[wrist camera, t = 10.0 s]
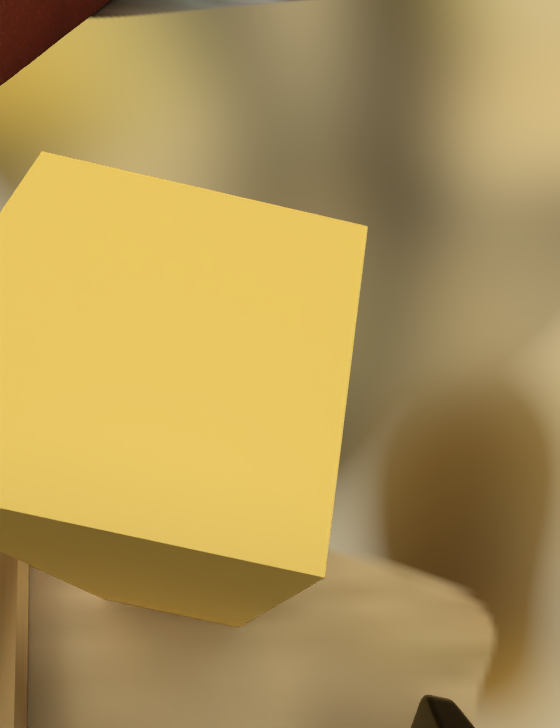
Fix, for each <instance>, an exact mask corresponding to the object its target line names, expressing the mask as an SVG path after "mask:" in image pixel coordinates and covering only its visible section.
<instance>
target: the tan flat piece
mask: <svg viewBox="0 0 560 728" xmlns="http://www.w3.org/2000/svg"><path fill="white" fill-rule="evenodd" d="M28 609H29V565H28V564H26V563H24V562H22V561H20V560H18V559H15V558H13V557H11V556H9V555H7V554H5V553H2V552H0V728H27V686H28Z"/></svg>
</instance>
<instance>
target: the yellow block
mask: <svg viewBox="0 0 560 728" xmlns="http://www.w3.org/2000/svg"><path fill="white" fill-rule="evenodd" d="M367 228H368V227H367V226H364V225H359V224H355V223H351V222H346V221H342V220H338V219H333V218H329V217H325V216H320V215H316V214H312V213H308V212H303V211H299V210H294V209H289V208H285V207H281V206H277V205H273V204H268V203H264V202H260V201H256V200H251V199H247V198H243V197H238V196H234V195H230V194H225V193H221V192H216V191H212V190H208V189H204V188H199V187H195V186H191V185H186V184H181V183H178V182H173V181H168V180H164V179H160V178H156V177H152V176H147V175H143V174H138V173H134V172H130V171H125V170H121V169H117V168H113V167H108V166H104V165H100V164H95V163H91V162H87V161H82V160H78V159H74V158H69V157H65V156H60V155H56V154H52V153H48V152H43V151H42V152H41V154H40V155H39V157H38V158H37V159H36V161H35V162H34V164H33V165H32V167H31V168H30V170H29V171H28V173H27V174H26V175H25V177H24V178H23V180H22V181H21V183H20V184H19V186H18V187H17V189H16V190H15V192H14V193H13V194H12V196H11V198H10V199H9V200H8V202H7V203H6V205H5V206H4V208H3V209H2V211H1V212H0V552H2V553H5V554H7V555H9V556H11V557H13V558H15V559H18V560H20V561H22V562H24V563H26V564H28V565H31V566H33V567H35V568H37V569H39V570H41V571H44V572H46V573H48V574H50V575H52V576H54V577H57V578H59V579H61V580H63V581H65V582H67V583H70V584H72V585H74V586H76V587H78V588H81V589H83V590H85V591H87V592H89V593H91V594H94V595H96V596H98V597H100V598H102V599H106V600H111V601H116V602H121V603H125V604H130V605H135V606H140V607H144V608H149V609H154V610H159V611H163V612H168V613H173V614H178V615H182V616H187V617H192V618H196V619H201V620H206V621H211V622H215V623H220V624H225V625H230V626H234V627H240V626H242V625H243V624H245V623H247V622H249V621H250V620H252V619H254V618H256V617H257V616H259V615H261V614H263V613H264V612H266V611H268V610H269V609H271V608H273V607H275V606H276V605H278V604H280V603H282V602H283V601H285V600H287V599H289V598H290V597H292V596H294V595H296V594H297V593H299V592H301V591H302V590H304V589H306V588H308V587H309V586H311V585H313V584H315V583H316V582H318V581H320V580H322V579H323V578H325V572H326V563H327V555H328V547H329V539H330V531H331V522H332V514H333V506H334V498H335V489H336V482H337V474H338V465H339V457H340V448H341V440H342V432H343V424H344V416H345V407H346V400H347V391H348V384H349V383H348V382H349V375H350V367H351V358H352V351H353V343H354V335H355V325H356V318H357V310H358V302H359V294H360V286H361V277H362V269H363V260H364V252H365V245H366V237H367Z"/></svg>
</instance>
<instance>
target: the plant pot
mask: <svg viewBox="0 0 560 728" xmlns="http://www.w3.org/2000/svg"><path fill="white" fill-rule="evenodd" d="M109 1H110V0H0V85H2V84H3V83H5V82H6V81H7V80H9V79H10V78H11V77H13V76H14V75H15V74H16V73H18V72H19V71H20V70H21V69H23V68H24V67H25V66H27V65H28V64H30V63H31V62H32V61H33V60H35V59H36V58H37V57H38V56H40V55H41V54H42V53H43V52H45V51H46V50H47V49H48V48H50V47H51V46H52V45H53V44H55V43H56V42H57V41H58V40H60V39H61V38H62V37H64V36H65V35H66V34H68V33H69V32H70V31H71V30H73V29H74V28H75V27H77V26H78V25H80V24H81V23H82V22H83V21H85V20H86V19H87V18H88V17H90V16H91V15H92V14H94V13H95V12H96V11H97V10H99V9H100V8H101V7H103V6H104V5H105V4H106V3H108V2H109Z"/></svg>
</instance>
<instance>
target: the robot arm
mask: <svg viewBox="0 0 560 728" xmlns="http://www.w3.org/2000/svg"><path fill="white" fill-rule="evenodd" d="M411 728H475V727H474V726H473V725H472V724H471V722H470V721H469V720H468V719H467V717H466V716H465V715H464V714H463V712H462V711H461V710H460V709H459V707H458V706H457V705H456V704H455V703H454V702H453V701H452V700H450V699H447V698H442V697H437V696H432V695H425V696H424V697H423V698H422V699H421V701H420V703H419V706H418V709H417V712H416V715H415V717H414V720H413V723H412V726H411Z"/></svg>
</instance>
